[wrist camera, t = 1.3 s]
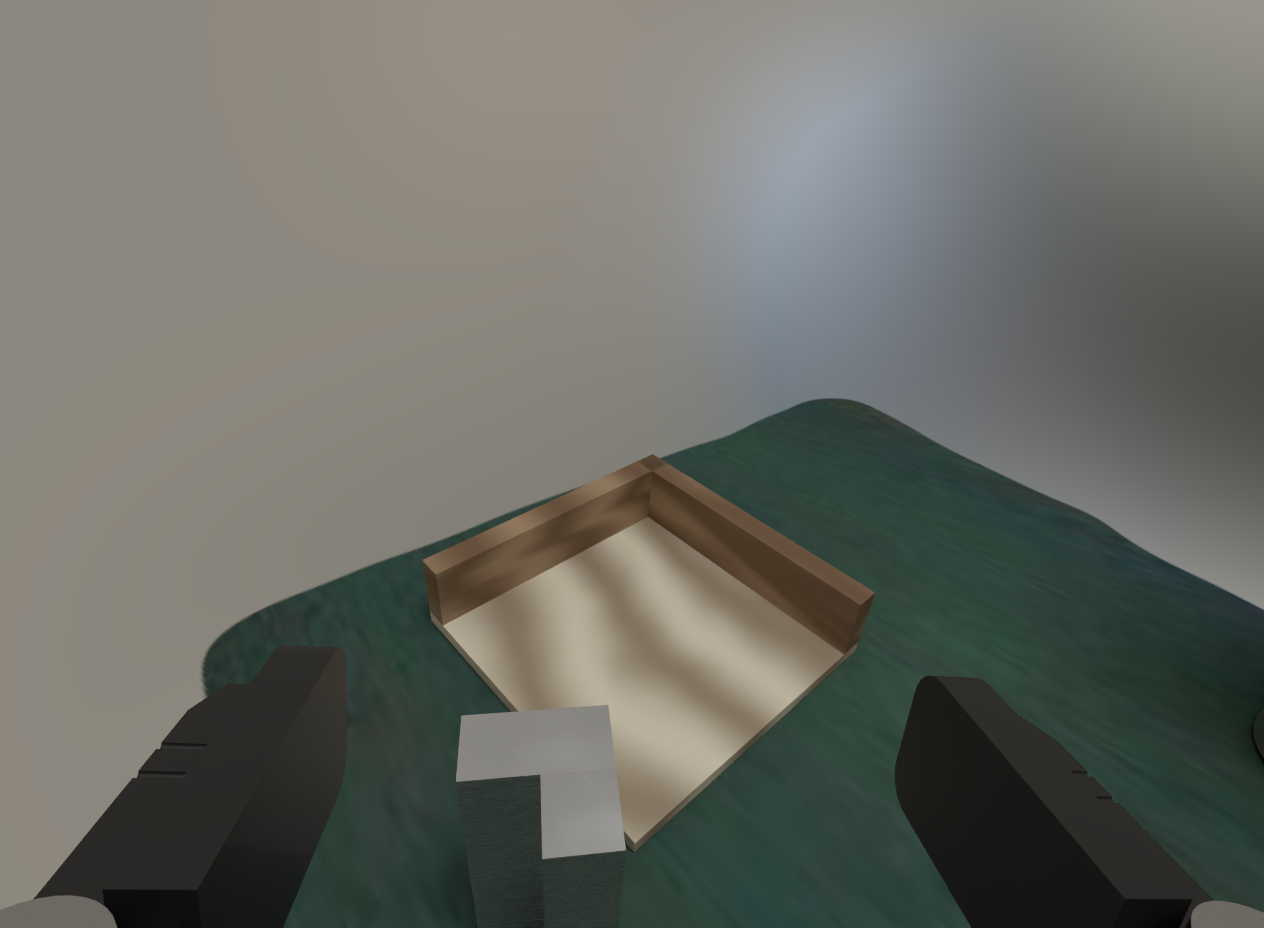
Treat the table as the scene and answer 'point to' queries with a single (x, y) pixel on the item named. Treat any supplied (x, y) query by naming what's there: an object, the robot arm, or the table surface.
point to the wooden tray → (649, 625)
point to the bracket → (542, 818)
